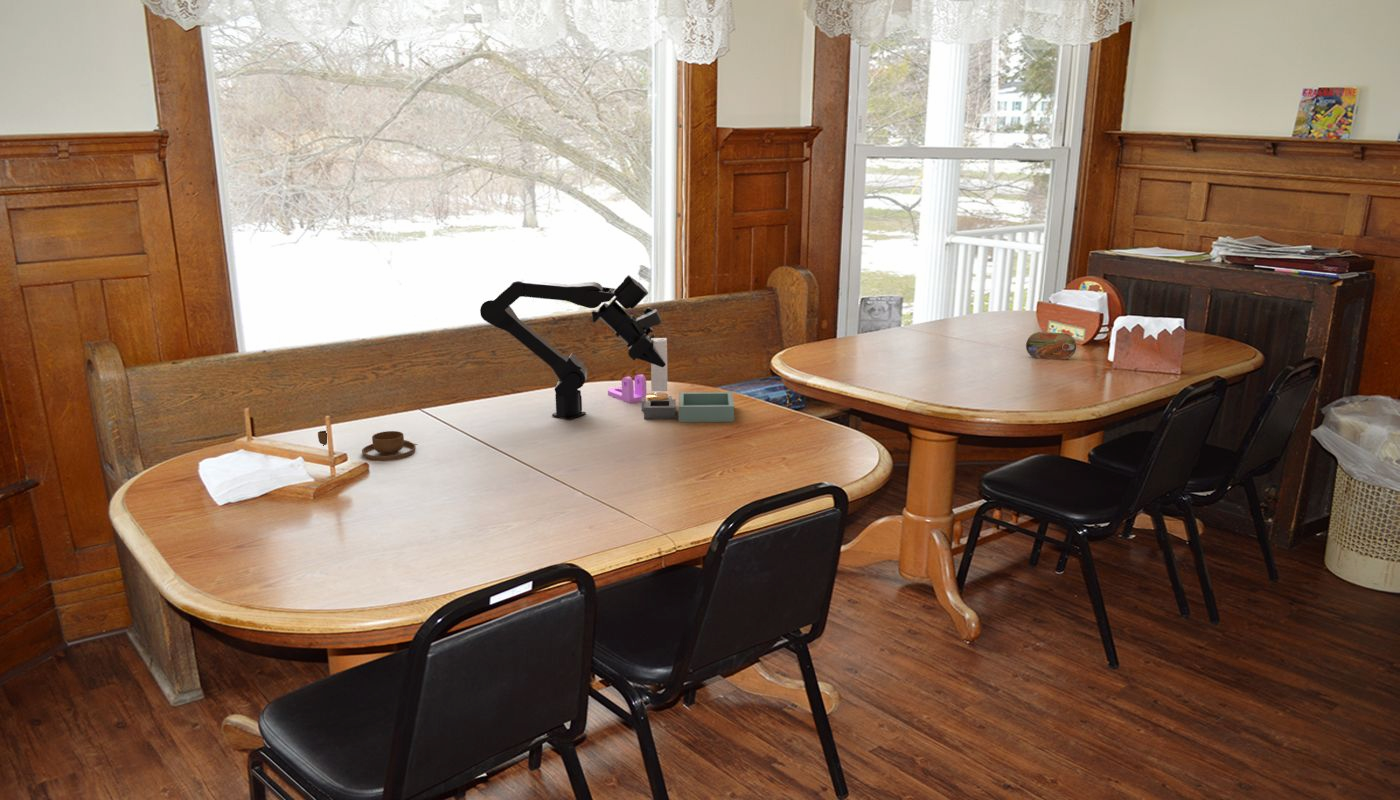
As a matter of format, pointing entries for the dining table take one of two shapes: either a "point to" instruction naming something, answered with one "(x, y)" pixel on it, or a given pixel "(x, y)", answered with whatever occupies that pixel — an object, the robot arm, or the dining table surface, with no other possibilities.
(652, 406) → the tensioner bracket
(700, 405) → the tray
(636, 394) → the bracket
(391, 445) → the place setting
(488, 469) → the dining table surface
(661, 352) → the pin
